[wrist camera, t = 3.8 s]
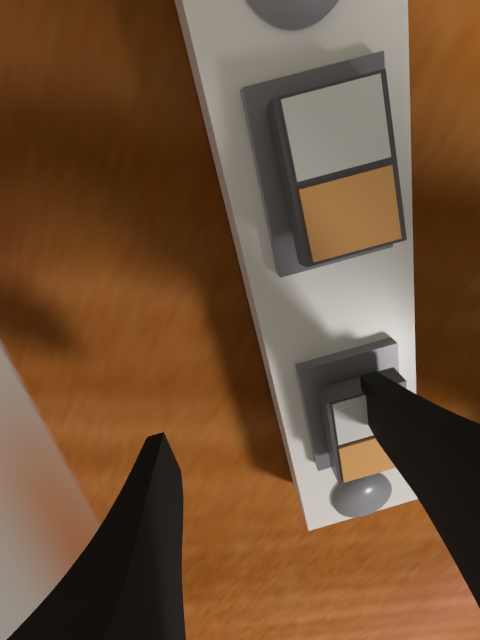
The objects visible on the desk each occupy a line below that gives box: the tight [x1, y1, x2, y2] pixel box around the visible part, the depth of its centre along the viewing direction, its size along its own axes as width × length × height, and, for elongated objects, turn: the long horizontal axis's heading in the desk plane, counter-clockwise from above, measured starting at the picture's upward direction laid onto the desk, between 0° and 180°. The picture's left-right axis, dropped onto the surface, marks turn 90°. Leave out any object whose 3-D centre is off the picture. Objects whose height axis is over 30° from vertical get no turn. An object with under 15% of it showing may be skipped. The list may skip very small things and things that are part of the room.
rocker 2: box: [318, 367, 407, 484], centre depth 14 cm, size 4×3×1 cm
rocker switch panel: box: [174, 0, 418, 531], centre depth 15 cm, size 24×6×4 cm, turn 13°
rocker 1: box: [266, 68, 407, 267], centre depth 10 cm, size 4×3×1 cm
